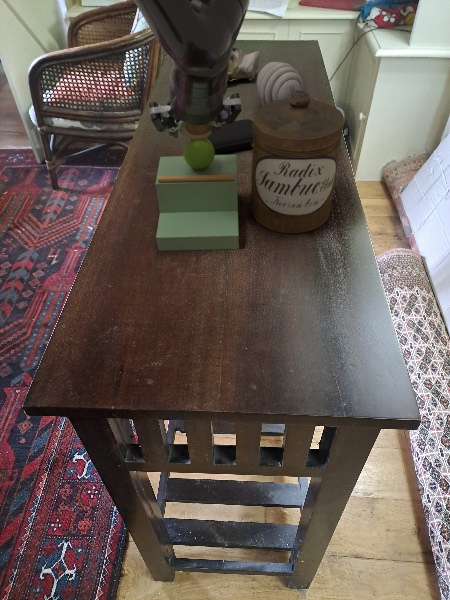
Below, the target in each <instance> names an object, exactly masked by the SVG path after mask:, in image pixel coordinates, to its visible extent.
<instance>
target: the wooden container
mask: <svg viewBox="0 0 450 600" xmlns="http://www.w3.org/2000/svg"><path fill="white" fill-rule="evenodd" d="M252 121H253V147H252V162H251V163H252V164H251V190H250V191H251V192H250V193H251V195H250V196H251V197H250V202H251V203H250V205H251V207H250V209H251V214H252V216H253V218H254V219H255V220H256V222H257V223H258V224H260V225H261V226H262V227H264V228H266V229H268V230H270V231H274V232H278V233H283V234H303V233H308V232H311V231H313V230H314V231H315V230H316V229H318V228H320V227H321V226H323V225H324V224H325V223H326V222H327V221H328V219H329V218H330V214H331V209H332V202H333V198H334V193H335V186H336V181H337V173H338V165H339V158H340V152H341V145H342V143H341V142H342V137H343V130H344V123H345V118H344V115H343V112H341V110H339V109H338V108H337V107H336V106H334V105H332V104H330V103H328V102H325V101H323V100H319V99H313V98H311V94H309V92H307V91H304V90H302V91H301V90H297V91H295V92H294V93H292V94H291V95H290V96H289V98H286V99H280V100H276V101H272V102H270V103H267V104H265V105H263V106H262V105H261V106H260V107H259V108H257V109H256V111H255V112H254V114H253V116H252Z"/></svg>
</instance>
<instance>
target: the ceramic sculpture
mask: <svg viewBox="0 0 450 600" xmlns="http://www.w3.org/2000/svg"><path fill="white" fill-rule="evenodd" d="M260 52H261V51H260V50H257V51H253V52H250V53H247V54H245V53H244V52H243V51H242V50H241V49H239V48H238V47H237V48H236V47H233V50H232V53H231V58H230V66H229V70H228V75H227V81H228V82H227V83H232V82H233V81H230V80H232V79H239V78H243V79H247V78H249V79H253V80H254V78H255V76H256V73H257V71H258V69H259V64H260ZM239 80H240V79H239ZM249 81H250V82H251V81H252V80H249Z"/></svg>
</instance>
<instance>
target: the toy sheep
mask: <svg viewBox="0 0 450 600" xmlns="http://www.w3.org/2000/svg"><path fill="white" fill-rule="evenodd" d="M303 87H304V85H303V79H302V78H301V76H300V73H299V72H298V71H297V70H296V69H295V67H293V65H291V64H290V63H285V62H283V61H271V62H268V63H267V64H265V65H264V66H262V68H261V69H260V71H259V72H258V73H257V77H256V88H257V94H258V96H259V98H260V100H261V107H262V106H263V105H265V104H267V103H270V102H272V101H276V100H280V99H286V98H289V96H290V95H291V94H292V93H294V92H295V91H297V90H301V91H303Z"/></svg>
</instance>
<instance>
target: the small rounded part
mask: <svg viewBox="0 0 450 600" xmlns="http://www.w3.org/2000/svg"><path fill="white" fill-rule="evenodd" d="M210 127H211V126H210V125H209V124H205V125H201V126H194V125H190V124H188V125H186V126H185V127H184V128H183V129H178V131H179V132H180V134H181V135H182V136H183V137H184V138H186V139H188V140H187V141H186V142H185V144H184V146H183V149H182V156H184V159H185V161H186V163H187V164H188V165H189V166H190V167H192V168H194V169H204V168H206V167H208V166H209V165H210V164H211V163H212V162H213V159H214V156H215V155H216V154H215V150H214V147H213V145H212V143H211V142H210V141H209V140H208V139H206V138H207V137H208V136H209V135H210V134H211V133H212V130H209V129H210ZM208 130H209V131H208Z"/></svg>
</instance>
